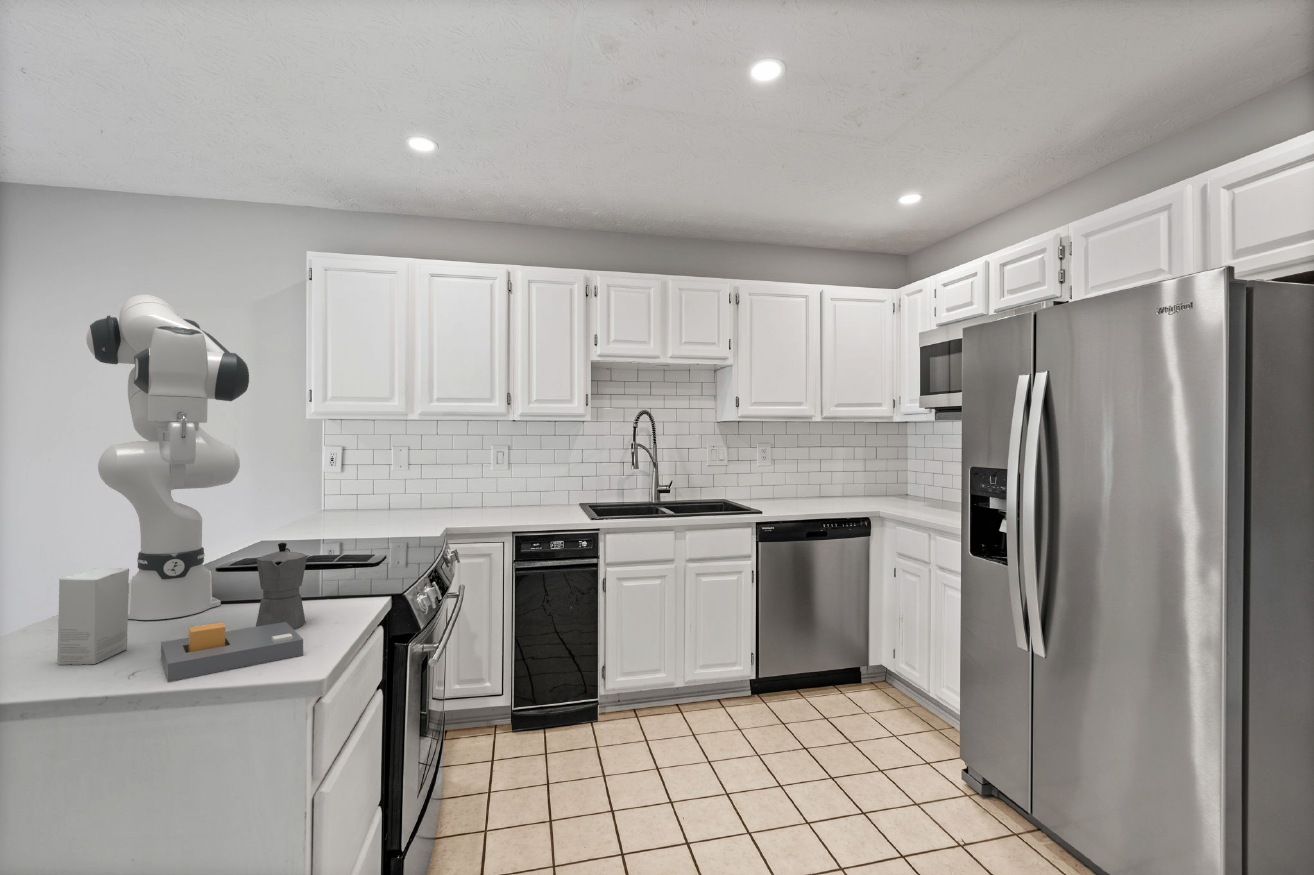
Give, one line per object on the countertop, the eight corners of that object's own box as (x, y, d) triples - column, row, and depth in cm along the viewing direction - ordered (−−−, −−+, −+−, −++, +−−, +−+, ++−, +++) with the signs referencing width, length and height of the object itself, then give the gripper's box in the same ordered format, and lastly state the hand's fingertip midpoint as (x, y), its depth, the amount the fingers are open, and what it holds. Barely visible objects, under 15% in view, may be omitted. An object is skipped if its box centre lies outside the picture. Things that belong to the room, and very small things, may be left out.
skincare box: (93, 649, 117) (95, 567, 117) (131, 649, 118) (132, 567, 118) (54, 666, 109) (56, 577, 109) (94, 665, 110) (96, 577, 110)
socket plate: (160, 658, 114) (161, 638, 114) (285, 636, 127) (286, 618, 127) (167, 681, 103) (168, 660, 103) (302, 655, 117) (303, 636, 117)
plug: (188, 659, 112) (188, 627, 112) (221, 653, 115) (222, 622, 115) (190, 664, 109) (191, 632, 109) (224, 658, 113) (225, 626, 113)
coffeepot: (302, 633, 129) (304, 546, 129) (249, 638, 125) (251, 549, 125) (309, 613, 143) (311, 535, 143) (261, 617, 139) (263, 537, 139)
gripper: (206, 412, 111) (205, 490, 111) (192, 414, 126) (191, 482, 126) (161, 411, 107) (159, 492, 107) (152, 413, 122) (151, 483, 122)
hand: (176, 486), depth 116 cm, fingers closed
